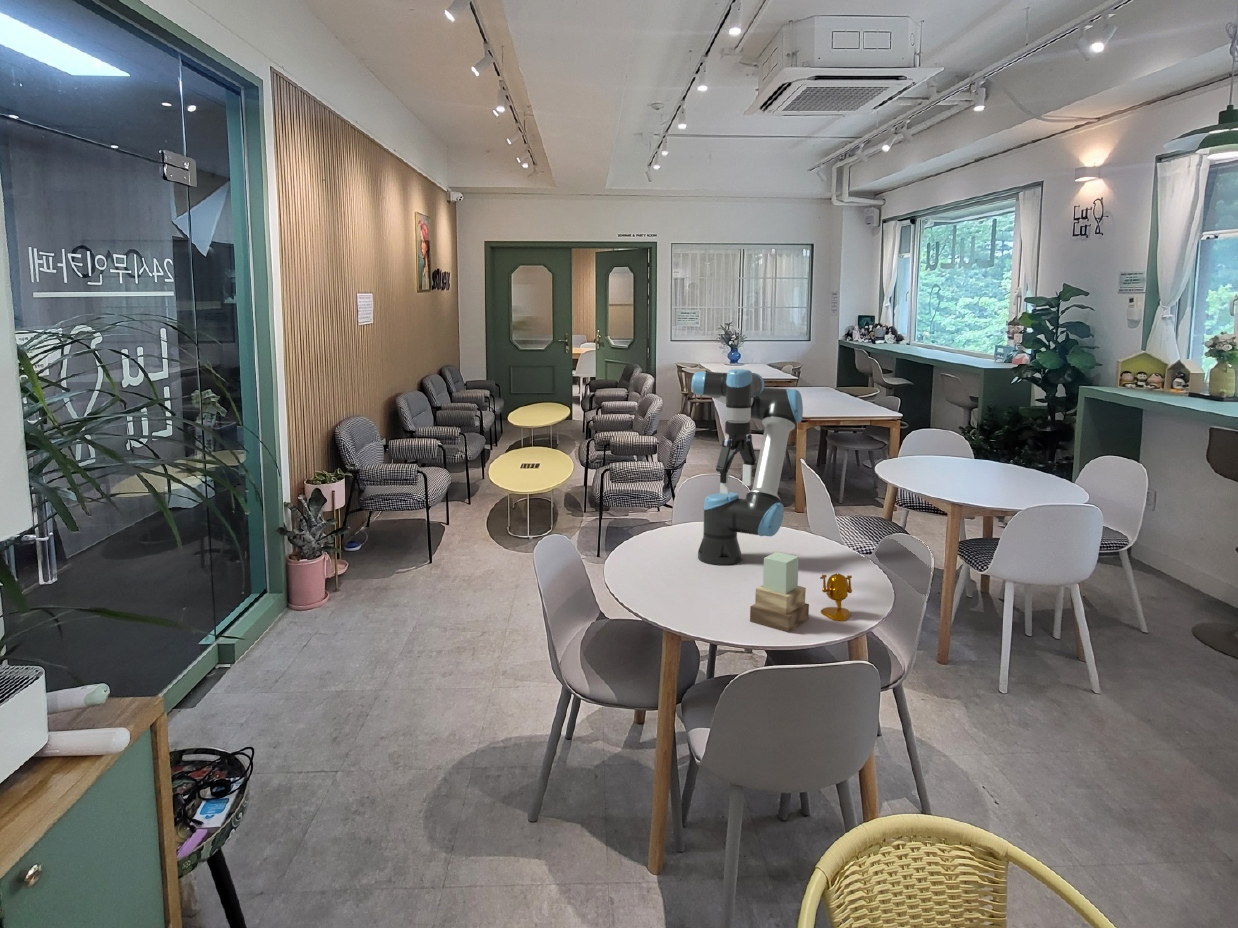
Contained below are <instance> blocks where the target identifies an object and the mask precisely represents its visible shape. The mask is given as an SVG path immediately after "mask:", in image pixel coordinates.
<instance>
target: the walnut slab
mask: <svg viewBox="0 0 1238 928" xmlns="http://www.w3.org/2000/svg"><path fill="white" fill-rule="evenodd" d="M809 609H810V604H809V603H807V602H805V605H803V606H801V607H799V608H797V609H796V610H794V611H792V612H790V613H788V614H783V613H779V612H776V611H773V610H769V609H766V608H763V607H759V606H756V605H755V603H754V604H752V605H751V606H750V610H749V613H750V614H749V622H750V623H753V624H756V625H760V626H764V627H767V628H771V629H774V630H777V631H782V632H785V633H790V632H791V631H794V630H795V629H796V628H798V627H799V626H801V625H802V624H804V623H805V622H807V621H808V620H809V612H810V610H809Z"/></svg>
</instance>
